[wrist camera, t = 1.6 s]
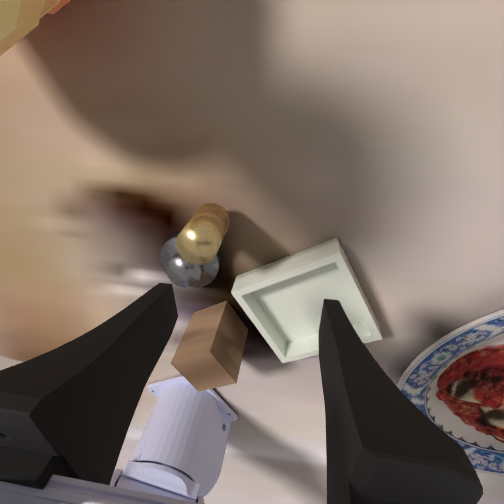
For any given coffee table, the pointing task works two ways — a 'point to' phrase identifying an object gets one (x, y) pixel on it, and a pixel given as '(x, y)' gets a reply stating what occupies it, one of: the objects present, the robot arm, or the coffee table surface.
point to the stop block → (212, 348)
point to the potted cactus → (23, 18)
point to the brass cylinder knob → (198, 244)
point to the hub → (209, 268)
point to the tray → (303, 299)
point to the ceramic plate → (465, 389)
